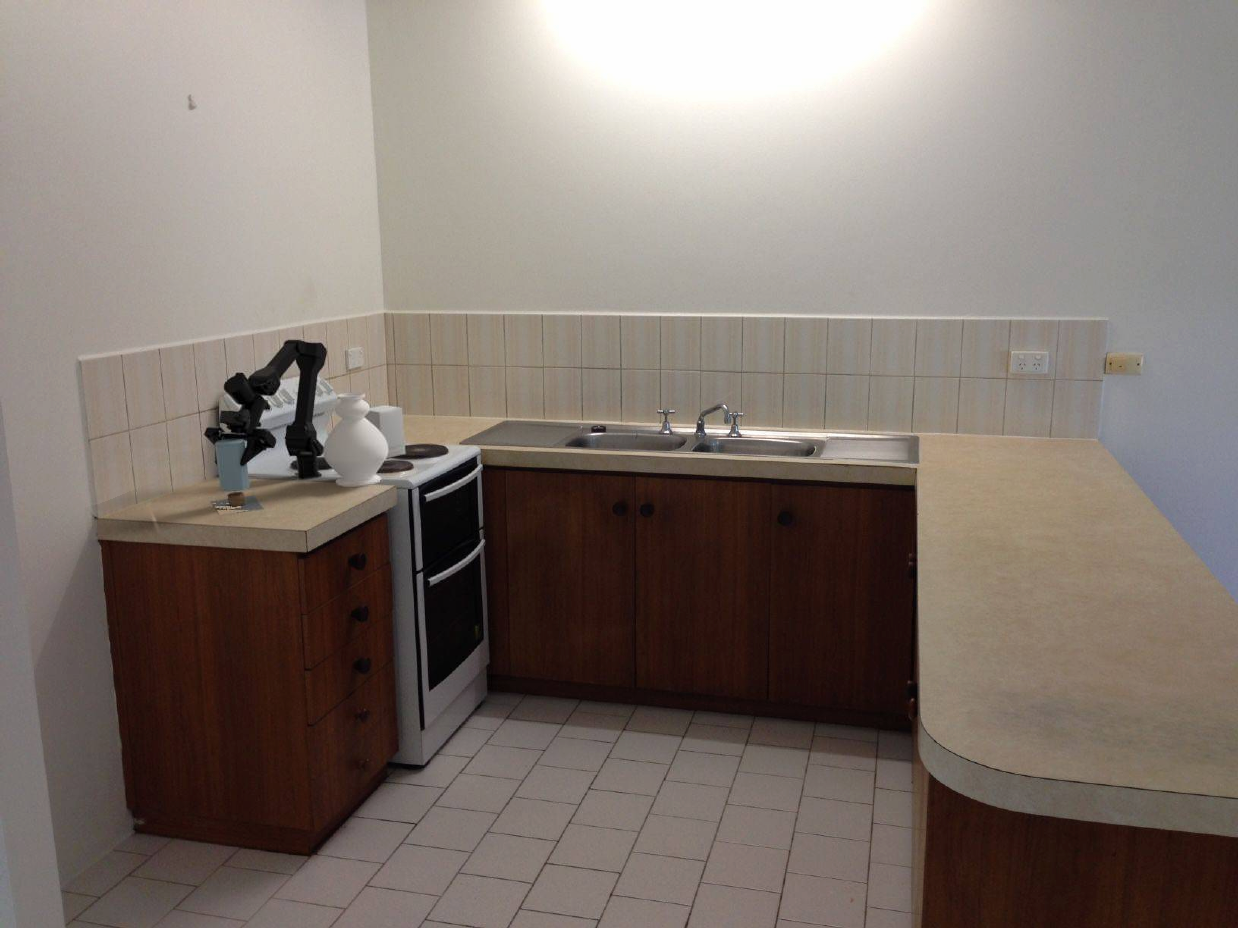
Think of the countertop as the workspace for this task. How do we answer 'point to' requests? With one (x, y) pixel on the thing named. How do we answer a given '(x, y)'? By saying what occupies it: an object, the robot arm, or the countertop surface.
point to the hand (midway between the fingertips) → (228, 464)
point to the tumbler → (231, 465)
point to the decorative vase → (355, 443)
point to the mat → (249, 505)
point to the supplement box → (389, 427)
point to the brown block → (236, 499)
